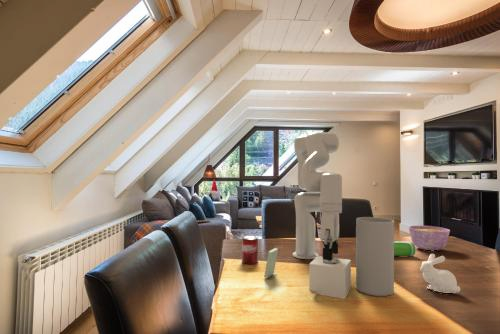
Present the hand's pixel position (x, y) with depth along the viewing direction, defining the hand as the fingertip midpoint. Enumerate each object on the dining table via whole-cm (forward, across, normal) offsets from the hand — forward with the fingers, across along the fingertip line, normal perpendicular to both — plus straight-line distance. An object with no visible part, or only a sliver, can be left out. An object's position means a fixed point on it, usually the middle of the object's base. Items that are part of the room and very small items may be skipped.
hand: (330, 256), depth 114 cm
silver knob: (+11, 0, 0) cm, 11 cm away
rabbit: (+12, -18, +34) cm, 40 cm away
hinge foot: (+12, -1, -23) cm, 26 cm away
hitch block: (+12, 0, 0) cm, 12 cm away
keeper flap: (+11, -1, -24) cm, 26 cm away
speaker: (+12, -63, +19) cm, 67 cm away
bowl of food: (+12, -87, +35) cm, 94 cm away
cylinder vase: (+12, -7, +14) cm, 20 cm away
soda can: (+12, -15, -39) cm, 43 cm away
